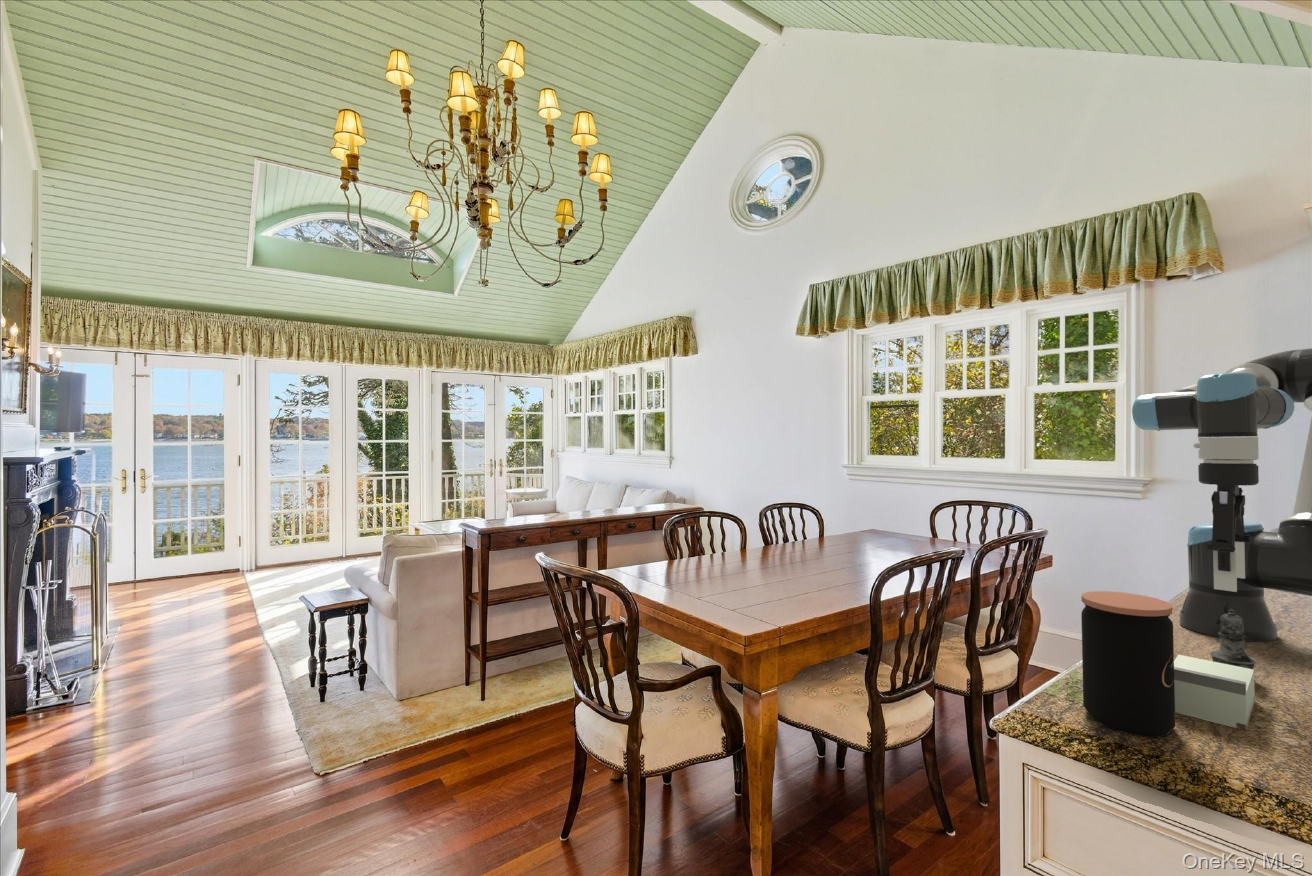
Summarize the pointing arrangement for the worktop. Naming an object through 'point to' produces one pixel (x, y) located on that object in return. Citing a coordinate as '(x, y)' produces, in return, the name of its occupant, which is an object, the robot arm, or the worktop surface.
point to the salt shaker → (1232, 643)
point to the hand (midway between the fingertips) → (1230, 583)
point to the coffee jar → (1128, 662)
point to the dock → (1214, 691)
